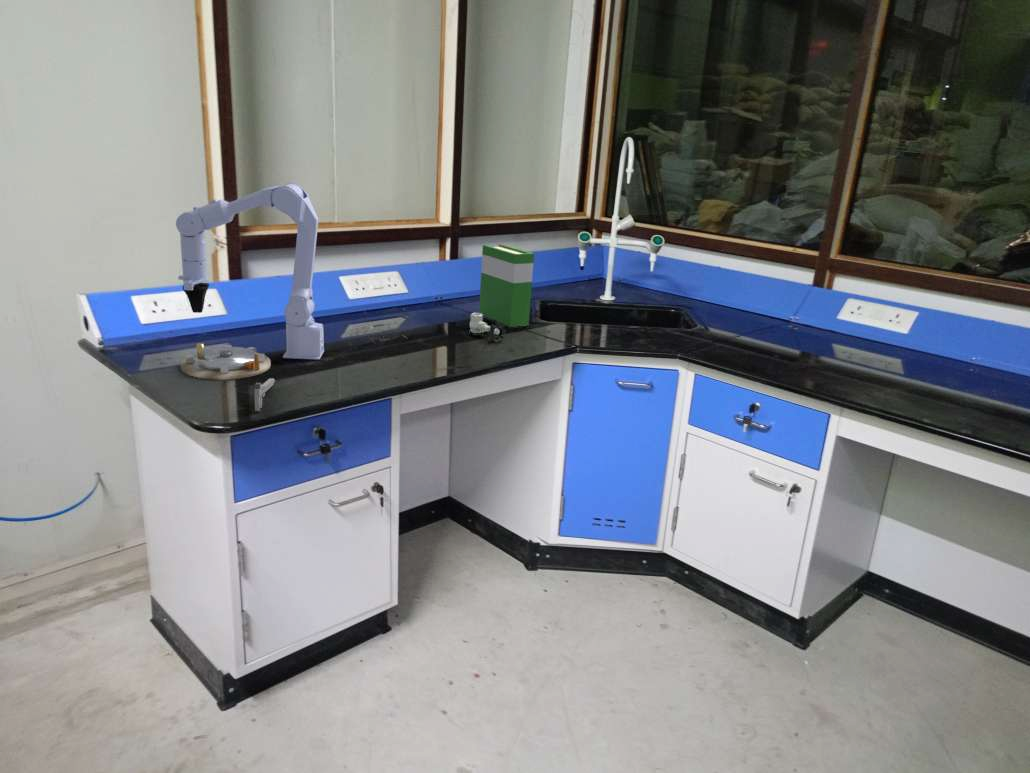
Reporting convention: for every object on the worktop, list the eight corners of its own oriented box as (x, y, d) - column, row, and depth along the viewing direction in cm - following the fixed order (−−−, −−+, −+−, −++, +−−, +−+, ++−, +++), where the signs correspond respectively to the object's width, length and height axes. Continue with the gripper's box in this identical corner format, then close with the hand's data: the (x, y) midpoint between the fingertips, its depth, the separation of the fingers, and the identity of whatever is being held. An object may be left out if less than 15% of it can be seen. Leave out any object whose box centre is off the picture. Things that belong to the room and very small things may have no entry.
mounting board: (278, 355, 201) (278, 337, 200) (259, 381, 181) (258, 361, 180) (196, 351, 199) (195, 333, 198) (168, 377, 179) (166, 357, 178)
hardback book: (478, 316, 256) (482, 245, 248) (496, 314, 260) (501, 244, 253) (510, 329, 243) (515, 254, 235) (528, 327, 247) (534, 253, 240)
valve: (463, 334, 234) (489, 344, 226) (464, 313, 232) (490, 322, 224) (479, 331, 238) (505, 341, 230) (480, 311, 236) (506, 320, 228)
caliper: (260, 413, 164) (259, 386, 162) (255, 413, 164) (253, 385, 161) (275, 382, 183) (274, 357, 181) (270, 382, 183) (269, 357, 180)
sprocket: (228, 346, 201) (227, 327, 200) (280, 359, 194) (279, 340, 192) (170, 362, 186) (168, 341, 184) (223, 377, 178) (222, 356, 177)
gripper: (185, 253, 199) (189, 304, 203) (168, 264, 185) (173, 318, 190) (213, 255, 200) (216, 305, 204) (199, 265, 186) (202, 319, 191)
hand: (197, 312), depth 197 cm, fingers closed
